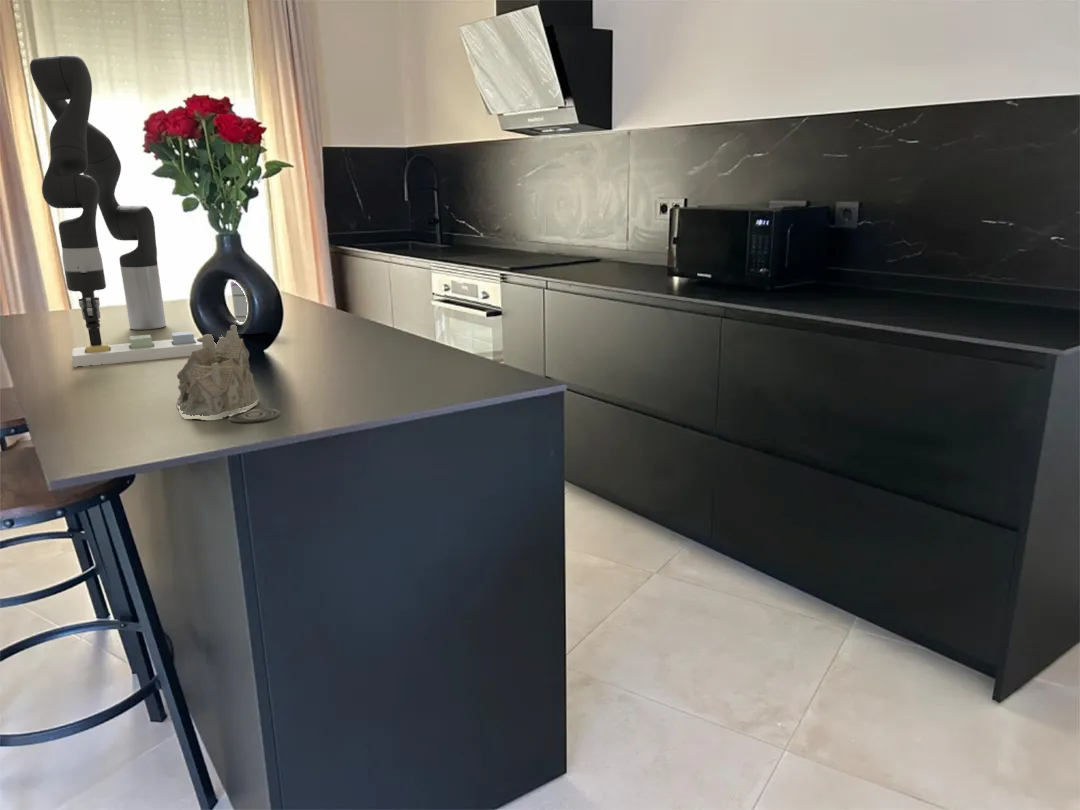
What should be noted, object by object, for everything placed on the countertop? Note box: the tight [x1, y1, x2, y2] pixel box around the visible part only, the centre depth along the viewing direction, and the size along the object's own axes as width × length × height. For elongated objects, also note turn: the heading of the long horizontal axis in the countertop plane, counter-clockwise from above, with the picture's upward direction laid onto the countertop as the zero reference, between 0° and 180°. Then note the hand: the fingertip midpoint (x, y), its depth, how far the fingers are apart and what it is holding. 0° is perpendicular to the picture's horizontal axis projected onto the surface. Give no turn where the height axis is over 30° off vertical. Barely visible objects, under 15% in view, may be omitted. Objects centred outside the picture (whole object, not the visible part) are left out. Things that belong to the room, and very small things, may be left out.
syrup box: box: [229, 280, 247, 322], centre depth 207 cm, size 6×6×14 cm
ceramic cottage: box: [176, 324, 259, 416], centre depth 138 cm, size 16×16×15 cm
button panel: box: [71, 336, 217, 368], centre depth 182 cm, size 10×32×3 cm, turn 119°
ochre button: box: [85, 341, 109, 353], centre depth 176 cm, size 4×4×3 cm
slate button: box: [171, 330, 195, 345], centre depth 184 cm, size 4×4×3 cm
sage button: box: [129, 334, 153, 349], centre depth 180 cm, size 4×4×3 cm
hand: (96, 344), depth 176 cm, fingers closed
